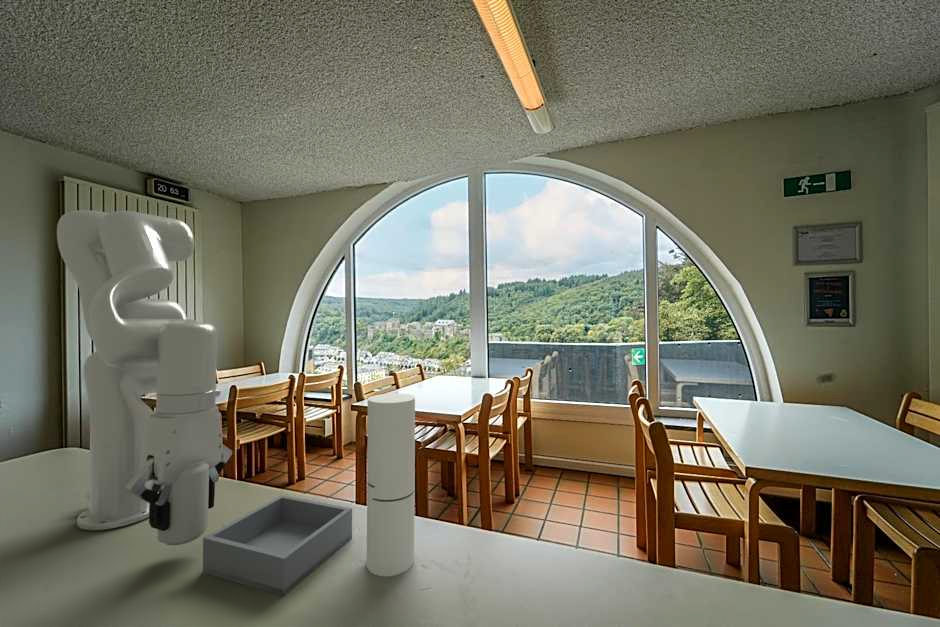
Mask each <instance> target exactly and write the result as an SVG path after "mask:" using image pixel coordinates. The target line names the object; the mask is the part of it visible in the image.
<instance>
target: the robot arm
mask: <svg viewBox="0 0 940 627" xmlns="http://www.w3.org/2000/svg"><path fill="white" fill-rule="evenodd" d="M56 239H57V240H56V241H57V246H58V250H59V253H60V256H61V258H62V259H63V262H64V264H65V265H66V267H67V269H68V271H69V273H71V275H72V276H73V279H74V281H75V282H76V284H77V288H78V291H79V297H80V302H81V307H82V314H83V318H84V322H85V327H86V332H87V334H88V336H89V338H90V339H91V341H93V344H94V347H95V350H96V351H94V352H92V353H91V354H89V356H88V357H87V358H86V359H85V362H84V364H83V379H84V384H85V387H86V394H87V399H88V400H87V401H88V408H89V478H88V479H89V485H88V486H89V490H88V491H87V492H85V494H84V499H86V500H88V501H89V503H88V508H87V509H85V510H83V512H82V513H80V514H79V515H78V516H77V518H76V525H77V527H78V528H79V529H81V530H85V531H104V530H105V531H106V530H110V529H116V528H120V527H121V528H122V527H124V526H127V525H132V524H134V523H137V522H138V523H139V522H140V521H143V520H145V519H148V524H149V525H150V528H152V529H156V530H157V531H158V530H161V531H165V530H167V529H168V528H169V527H170V503H169V502H166V500H167V497H168V495H169V492H170V490H171V487H172V483H174V482H176V481H177V480H178V478H179V476H180V475H181V474H182V472H184V470H185V467H186V466H189V465H192V464H195V463H197V462H200V461H203V460H205V459H206V461H205V463H207V464H209V495H208V510H210V509H212V508H214V506H215V497H216V496H215V490H216V489H215V488H216V483H217V482H218V481H219V479H220V474H221V473H222V472H223V469H224V468H225V467H226V463H227V462H228V461H229V460H230V458H231V456H232V454H233V450H232V449H230V448H229V447H227V446H226V445H225V444H223V428H222V421H221V414H220V411H219V407H218V405H216V398H218V397H220V396H221V390H220V389H219V388H217V386H216V384H217V359H218V358H217V357H218V356H217V354H218V332H217V328H216V327H215V326H214V325H213V324H211V323H208V322H199V321H197V320H194V319H189V318H188V315H187V313H186V310H185V309H184V307H182V306H181V305H180V304H179V303H178V302H176V301H174V300H170V299H163V298H162V299H161V298H149V297H152V296H154V295H157V294H161V293H162V292H163V291H165V290H166V289H168V288H169V286H171V284H172V282H173V280H174V271H173V269H172V266H171V264H170V262H184V261H187V260H189V258H190V257H191V256H192V255H193V252H194V250H195V238H194V233H193V232H192V230H191V229H190V227H189V226H188V225H187V224H186V223H185V222H184V221H181V220H179V219H176V218H172V217H165V216H159V215H155V214H148V213H143V212H137V211H132V210H131V211H129V210H116V211H112V212H104V211H99V210H88V209H87V210H85V209H84V210H83V209H81V210H71V211H67V212H66V213H64V214H63V215H61V217H59V220H58V223H57V226H56ZM150 394H155V395H156V397H155V398H156V399H155V401H156V402H155V412H154V410H153V409H152V408H151V407H150V406H149V405H148V404H146V403H145V402H144V401H143V400H142V399H141V397H142V396H145V395H150ZM160 485H162V486H161V489H160ZM159 489H160V491H159Z"/></svg>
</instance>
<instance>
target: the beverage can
mask: <svg viewBox="0 0 940 627" xmlns="http://www.w3.org/2000/svg"><path fill="white" fill-rule="evenodd" d="M205 461H206V459H205V460H203V461H200V462H197V463H195V464H192V465H189V466H186V467H185V470H184V472H182V474H181V475H180V476H179V478H178V480H177V481H176V482H174V483H172V487H171V490H170V492H169V495H168V497H167V500H166V502H169V503H170V527H169V528H168V529H167V530H165V531H161V530H158V529H157V536H156V538H157V541H159V543H162V544H165V545H168V546H180V545H185V544H188V543H190V542H193V541H195V540H197V539H199V537H201V536H202V534H203V533H205V532H206V531H207V529H208V524H209V521H208V520H209V508H208V495H209V464H207V463H205ZM161 486H162V485H160V489H161ZM160 489H159V491H160ZM159 491H158V492H159Z"/></svg>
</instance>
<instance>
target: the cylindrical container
mask: <svg viewBox="0 0 940 627" xmlns="http://www.w3.org/2000/svg"><path fill="white" fill-rule="evenodd" d="M415 427H416V396H415V395H413V394H407V393H381V394H376V395H371V396H369V397H368V398H367V456H366V458H367V459H366V460H367V462H366V463H367V466H366V469H367V470H366V474H367V475H366V480H367V481H366V485H367V486H366V568H367V570H368V572H369V573H371V574H372V575H376V576H378V577H386V578H387V577H394V576H398V575H402V574H404V573H405V572H407V571H408V570H410V569H411V567H412V566H413V565H414V563H415V498H416V496H415V494H416V493H415V490H416V488H415V487H416V486H415V483H416V481H415V480H416V479H415V477H416V476H415V475H416V468H415V467H416V466H415V464H416V463H415V462H416V461H415V460H416V459H415V458H416V457H415V456H416V452H415V451H416V443H415V442H416V441H415V440H416V437H415V436H416V428H415Z"/></svg>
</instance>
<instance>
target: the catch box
mask: <svg viewBox="0 0 940 627" xmlns="http://www.w3.org/2000/svg"><path fill="white" fill-rule="evenodd" d="M352 539H353V508H351V507H346V506H342V505H335V504H330V503H325V502H320V501H314V500H311V499H310V500H309V499H304V498H300V497H299V498H298V497H294V496H289V495H284V494H281V495H279V496H278V497H276V498H275V499H272V500H270V501H269V502H267V503H264V504H263V505H261V506H259V507H257V508H256V509H254V510H252V511H250V512H247V514H245V515H243V516H240V517H239V518H237V519H235V520H233V521H232V522H230V523H228V524H226V525H225V526H222V527H221V528H219V529H217V530H214V531H213V532H212V533H210V534H208V535H206V536H204V537H203V538H202V573H204V574H208V575H211V576H213V577H217V578H221V579H224V580H228V581H232V582H235V583H238V584H240V585H244V586H245V585H246V586H248V587H252V588H255V589H258V590H262V591H266V592H268V593H269V592H270V593H272V594H275V595H279V596H282V597H285V596H286V595H287V594H288V593H289V592H291V590H293V589H294V588H295V587H297V586H298V585H299V584H300V583H301V582H303V581H304V580H305V579H306V578H308V576H309V575H311V574H312V573H313V572H314V571H315V570H316V569H317V568H319V567H320V566H321V565H323V564H324V563H325V562H326V561H327V560H329V559H330V557H332V556H333V555H334V554H335V553H337V552H338V550H340V549H341V548H343V546H345V545H346V544H347V543H348V542H349V541H350V540H352Z"/></svg>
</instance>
